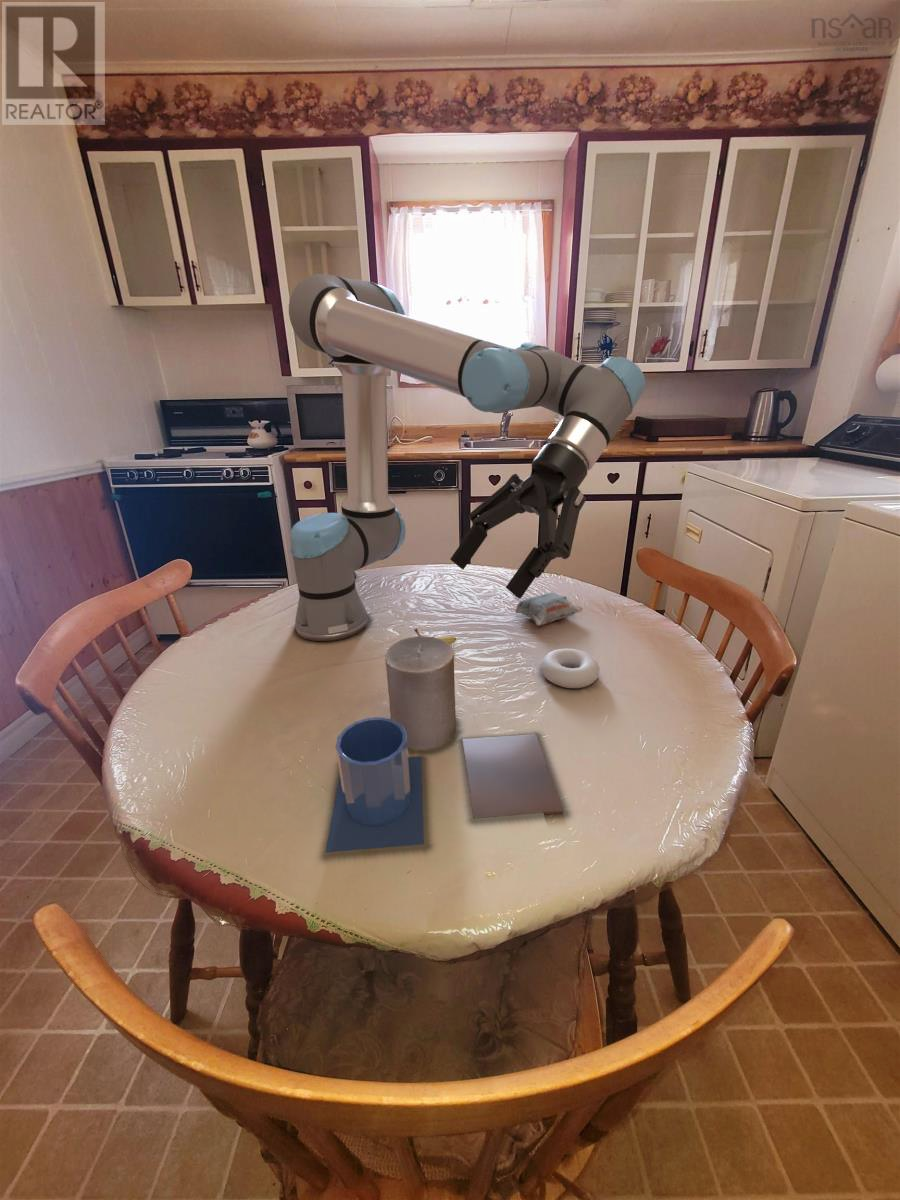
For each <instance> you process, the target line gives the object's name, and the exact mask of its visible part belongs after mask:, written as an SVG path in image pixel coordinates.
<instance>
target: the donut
mask: <svg viewBox="0 0 900 1200" xmlns="http://www.w3.org/2000/svg"><path fill="white" fill-rule="evenodd" d="M540 663H541V664H540V668H541V673H542V675H543V676H544V677H545V679H546V680H548V681H549V682H551V683H552V684H554V685H556V686H559V687H561V688H566V689H580V688H581V689H582V688H585V687H588V686H590V685H592V684H594V683H595V681H596V680H597V679H598V678H599V675H600V665H599V663H598V661H597V660H596V659H595V657H593V656H592V655H591V654H589V653H588V652H585V651H583V650H580V649H577V648H558V649H554V650H552V651H550V652H548V653H546V655H544V657H543V658H542V661H541V662H540Z"/></svg>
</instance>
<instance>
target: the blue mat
mask: <svg viewBox="0 0 900 1200" xmlns="http://www.w3.org/2000/svg"><path fill="white" fill-rule="evenodd" d="M409 768H410V781H411V801H410V804H409V807H408V808H407V810H406V811H405V812H404V814H403V815H402V816H400V817H399V818H398V819H396V820H395V821H393V822H391V823H388V824H385V825H380V826H367V825H362V824H360V823H358V822H356V821H354V820H353V819H352V818H351V817H350V816H349V814H348V813H347V810H346V806H345V802H344V797H343V791H342V784H341V778H340V774H339V775H338V781H337V786H336V791H335V792H336V793H335V798H334V804H333V809H332V815H331V821H330V826H329V831H328V832H329V833H328V837H327V843H326V848H325V853H335V852H345V851H346V852H347V851H357V850H371V849H383V848H384V849H385V848H394V847H395V848H396V847H407V846H418V845H419V846H420V845H424V844H425V840H424V839H425V838H424V837H425V835H424V804H423V803H424V802H423V801H424V800H423V769H422V756H412V757H411V756H409Z"/></svg>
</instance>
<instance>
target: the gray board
mask: <svg viewBox="0 0 900 1200" xmlns="http://www.w3.org/2000/svg"><path fill="white" fill-rule="evenodd" d="M461 742H462V748H463V755H464V762H465V770H466V776H467V783H468V790H469V797H470V798H469V799H470V804H471V811H472V818H473V819H479V818H480V819H481V818H491V817H492V818H493V817H494V818H495V817H504V816H505V817H506V816H517V815H529V814H542V813H543V816H546V815H547V816H550V815H559V814H560V815H561V814H562V815H563V814H564V812H565V811H564V808H563V805H562V801H561V798H560V796H559V793H558V791H557V788H556V784H555V783H554V780H553V777H552V774H551V772H550V771H551V770H550V767H549V766H548V763H547V760H546V757H545V753H544V752H543V749H542V746H541V743H540V740H539V738H538V734H537V733H528V734H514V735H501V736H499V735H498V736H487V737H485V736H483V737H469V738H461Z"/></svg>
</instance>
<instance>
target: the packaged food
mask: <svg viewBox="0 0 900 1200" xmlns="http://www.w3.org/2000/svg"><path fill="white" fill-rule="evenodd" d="M567 598H568V597H567V596H564V595H562V594H559V593H554V592H548V593H543V594H540V595H536V596H531V597H528V598H525V599H523V600H520V601H519V602H518V604H517V605H516V609H515V611H514V612H515V614H521V615H522V616H526V617H527V618H530V619H531V620H533V621H534V623H535V624H536V626H537V627H538V626H541V625H543V626H544V625H547V624H550V623H552V622H554V621H559V620H562V619H564V618H567V617H571V616H574V615H575V614H578V613H581V612H582V611H583V607H582V606H578V605H575V604H574V603H572V602H571V601H570V600H569V599H567Z"/></svg>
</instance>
